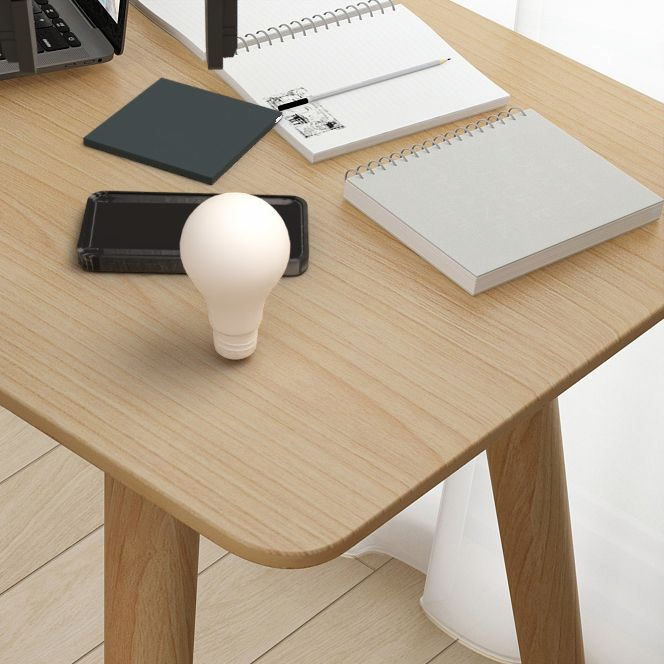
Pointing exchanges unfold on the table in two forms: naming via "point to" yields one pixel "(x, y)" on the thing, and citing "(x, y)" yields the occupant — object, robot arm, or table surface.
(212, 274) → the lightbulb
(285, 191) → the table surface
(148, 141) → the mat
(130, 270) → the phone
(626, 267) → the table surface
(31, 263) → the table surface
